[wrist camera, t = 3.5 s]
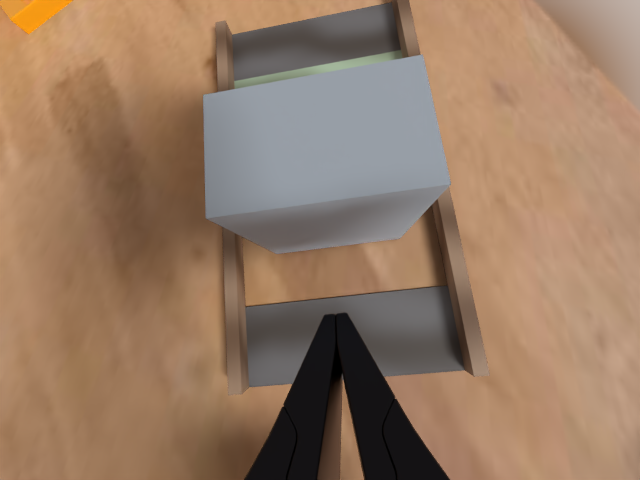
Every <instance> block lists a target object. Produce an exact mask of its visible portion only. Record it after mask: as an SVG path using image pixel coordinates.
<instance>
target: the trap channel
mask: <svg viewBox="0 0 640 480" xmlns="http://www.w3.org/2000/svg"><path fill="white" fill-rule="evenodd" d="M216 50H217V80H218V92H222V91H227V90H232V89H238V88H243V87H249V86H254V85H260V84H265V83H271V82H276V81H282V80H287V79H292V78H298V77H303V76H309V75H314V74H320V73H325V72H331V71H336V70H341V69H347V68H352V67H358V66H363V65H369V64H374V63H380V62H385V61H390V60H396V59H401V58H407V57H412V56H418V55H421V54H420V49H419V45H418V40H417V36H416V31H415V26H414V22H413V17H412V12H411V8H410V3H409V0H392V2H391V3H386V4H381V5H376V6H371V7H367V8H362V9H357V10H352V11H347V12H342V13H337V14H332V15H327V16H322V17H317V18H312V19H307V20H302V21H298V22H293V23H288V24H283V25H278V26H273V27H268V28H263V29H258V30H253V31H248V32H243V33H238V34H233V35H232V34H231V31H230V29H229V27H228V25H227V23H226V21H221V22H216ZM432 209H433V214H434V219H435V224H436V229H437V234H438V239H439V244H440V249H441V254H442V259H443V264H444V269H445V274H446V279H447V284H448V286H439V287H430V288H421V289H411V290H402V291H392V292H383V293H374V294H364V295H355V296H346V297H336V298H327V299H317V300H308V301H299V302H289V303H280V304H270V305H261V306H252V307H245V287H244V267H243V246H242V236H240V235H238V234H236V233H234V232H232V231H230V230H228V229H226V228H224V227H223V257H224V286H225V316H226V345H227V375H228V395H239V394H242V393H244V392H245V391H246V390H247V389H248V388H249V387H257V386H270V385H283V384H293V382H294V380H295V378H296V375H297V373H298V371H299V369H300V366H301V364H302V362H303V360H304V358H305V355H306V353H307V351H308V349H309V347H310V344H311V342H312V340H313V338H314V335H315V333H316V331H317V329H318V327H319V324H320V322H321V320H322V318H323V316H324V315H325V314H332V313H334V314H335V315H336V314H337V313H342V312H347V313H348V315H349V316H350V318H351V320H352V322H353V323H354V325H355V327H356V329H357V330H358V332H359V334H360V336H361V337H362V339H363V341H364V343H365V344H366V346H367V348H368V350H369V352H370V353H371V355H372V357H373V359H374V360H375V362H376V364H377V366H378V367H379V369H380V371H381V373H382V374H383V376H384V377H385V376H397V375H410V374H423V373H435V372H448V371H461V370H465V371H467V372H468V373H470V374H471V375H473V376H474V377H476V376H489V375H490V373H489V369H488V364H487V359H486V355H485V350H484V346H483V341H482V336H481V332H480V327H479V322H478V318H477V313H476V309H475V304H474V299H473V295H472V290H471V285H470V281H469V276H468V272H467V267H466V262H465V258H464V253H463V248H462V244H461V239H460V235H459V230H458V225H457V221H456V216H455V211H454V207H453V202H452V198H451V193H450V188H449V187H448V188H447V189H446V190H445V191H444V192H443V193H442V194H441V195H440V196H439V198H438V199H437V200H436V201H435V202H434V203H433V204H432ZM342 380H344V379H343V374H342Z"/></svg>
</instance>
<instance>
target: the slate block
mask: <svg viewBox="0 0 640 480" xmlns="http://www.w3.org/2000/svg"><path fill="white" fill-rule="evenodd" d="M203 114H204V162H205V209H206V219H208V220H210V221H212V222H214V223H216V224H218V225H220V226H222V227H224V228H226V229H228V230H230V231H232V232H234V233H236V234H238V235H240V236H242V237H244V238H246V239H248V240H250V241H252V242H254V243H256V244H258V245H260V246H262V247H264V248H266V249H268V250H270V251H272V252H274V253H276V254H280V253H288V252H296V251H304V250H312V249H320V248H329V247H337V246H345V245H353V244H361V243H369V242H377V241H385V240H393V239H400V238H401V237H402V236H403V235H404V234H405V233H406V232H407V230H408V229H409V228H410V227H411V226H412V225H413V224H414V223H415V222H416V221H417V220H418V219H419V218H420V217H421V216H422V215H423V213H424V212H425V211H426V210H427V209H428V208H429V207H430V206H431V205H432V204H433V203H434V202H435V201H436V200H437V199H438V198H439V196H440V195H441V194H442V193H443V192H444V191H445V190H446V189H447V188H448V187H449V186H450V185H451V181H450V177H449V172H448V168H447V163H446V159H445V154H444V149H443V145H442V140H441V136H440V131H439V126H438V122H437V117H436V113H435V108H434V103H433V99H432V94H431V90H430V85H429V81H428V76H427V71H426V67H425V62H424V58H423V55H418V56H412V57H407V58H401V59H396V60H390V61H385V62H380V63H374V64H369V65H363V66H358V67H352V68H347V69H341V70H336V71H331V72H325V73H320V74H314V75H309V76H303V77H298V78H292V79H287V80H282V81H276V82H271V83H265V84H260V85H254V86H249V87H243V88H238V89H232V90H227V91H222V92H216V93H211V94H205V95H203Z"/></svg>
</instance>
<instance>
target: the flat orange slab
mask: <svg viewBox="0 0 640 480" xmlns="http://www.w3.org/2000/svg"><path fill="white" fill-rule="evenodd" d="M72 1H73V0H0V6H1V7H2V8H3V10H4V11H5V13H6V14H7V16H8V17H9V19H10V20H11V21H12V22H14V23H15V24H16V25H17V26H19V27H20V28H21V29H22V30H24V31H25V32H26V33H27V34H30V33H31V32H32V31H34V30H35V29H36V28H38V27H39V26H40V25H42V24H43V23H44V22H45V21H47V20H48V19H49V18H51V17H52V16H53V15H55V14H56V13H57V12H59V11H60V10H61V9H62V8H64V7H65V6H66V5H68V4H69V3H70V2H72Z"/></svg>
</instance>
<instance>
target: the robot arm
mask: <svg viewBox="0 0 640 480" xmlns="http://www.w3.org/2000/svg"><path fill="white" fill-rule="evenodd" d="M342 374H343V379H344V385H345V389H346V394H347V399H348V404H349V409H350V414H351V418H352V423H353V428H354V433H355V438H356V443H357V448H358V452H359V457H360V462H361V467H362V472H363V477H364V480H450V479H449V477H448V476H447V475H446V473H445V472H444V470H443V469H442V468H441V466H440V465H439V463H438V462H437V461H436V459H435V458H434V457H433V455H432V454H431V452H430V451H429V450H428V448H427V447H426V445H425V444H424V442H423V441H422V439H421V438H420V436H419V435H418V433H417V432H416V431H415V429H414V427H413V426H412V424H411V423H410V421H409V419H408V418H407V416H406V414H405V413H404V411H403V409H402V408H401V406H400V404H399V402H398V401H397V399H395V395H394V394H393V392H392V390H391V388H390V387H389V385H388V383H387V381H386V380H385V378H384V376H383V374H382V373H381V371H380V369H379V367H378V366H377V364H376V362H375V360H374V359H373V357H372V355H371V353H370V352H369V350H368V348H367V346H366V344H365V343H364V341H363V339H362V337H361V336H360V334H359V332H358V330H357V329H356V327H355V325H354V323H353V322H352V320H351V318H350V316H349V315H348V313H347V312H342V313H337V314H336V315H335V314H334V313H332V314H325V315H324V316H323V318H322V320H321V322H320V324H319V327H318V329H317V331H316V333H315V335H314V338H313V340H312V342H311V344H310V347H309V349H308V351H307V353H306V355H305V358H304V360H303V362H302V364H301V366H300V369H299V371H298V373H297V375H296V378H295V380H294V382H293V384H292V386H291V389H290V391H289V393H288V395H287V398H286V400H285V402H284V404H283V405H284V407H282V408H281V411H280V413H279V415H278V417H277V419H276V421H275V424H274V426H273V428H272V430H271V432H270V434H269V436H268V438H267V440H266V442H265V443H264V445H263V447H262V449H261V451H260V453H259V454H258V456H257V458H256V460H255V461H254V463H253V465H252V467H251V468H250V470H249V472H248V474H247V475H246V477H245V479H244V480H340V453H341V417H342Z"/></svg>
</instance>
